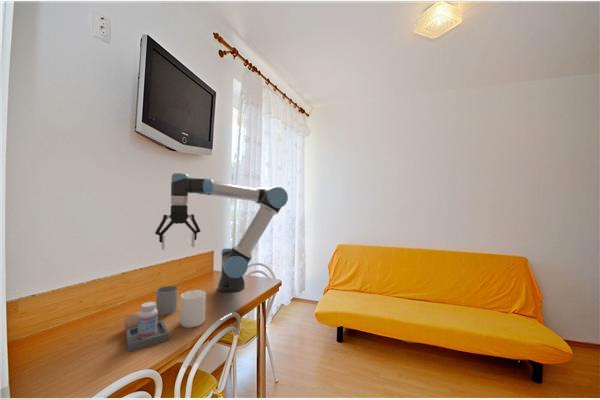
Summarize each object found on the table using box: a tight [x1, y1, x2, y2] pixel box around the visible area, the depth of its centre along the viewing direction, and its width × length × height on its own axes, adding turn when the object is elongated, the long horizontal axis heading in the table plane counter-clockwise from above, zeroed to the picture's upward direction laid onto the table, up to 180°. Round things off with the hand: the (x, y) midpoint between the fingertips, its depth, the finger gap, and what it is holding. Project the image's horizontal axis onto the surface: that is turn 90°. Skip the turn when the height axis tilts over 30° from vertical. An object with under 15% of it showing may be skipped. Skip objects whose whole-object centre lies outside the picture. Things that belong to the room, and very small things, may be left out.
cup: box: [155, 285, 179, 316], centre depth 115 cm, size 8×8×10 cm
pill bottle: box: [138, 301, 159, 339], centre depth 92 cm, size 6×6×11 cm
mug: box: [179, 289, 207, 329], centre depth 105 cm, size 10×12×12 cm
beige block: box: [124, 311, 140, 330], centre depth 99 cm, size 7×6×6 cm
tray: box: [125, 320, 170, 352], centre depth 92 cm, size 12×12×2 cm
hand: (178, 247), depth 125 cm, fingers open, 13 cm apart
